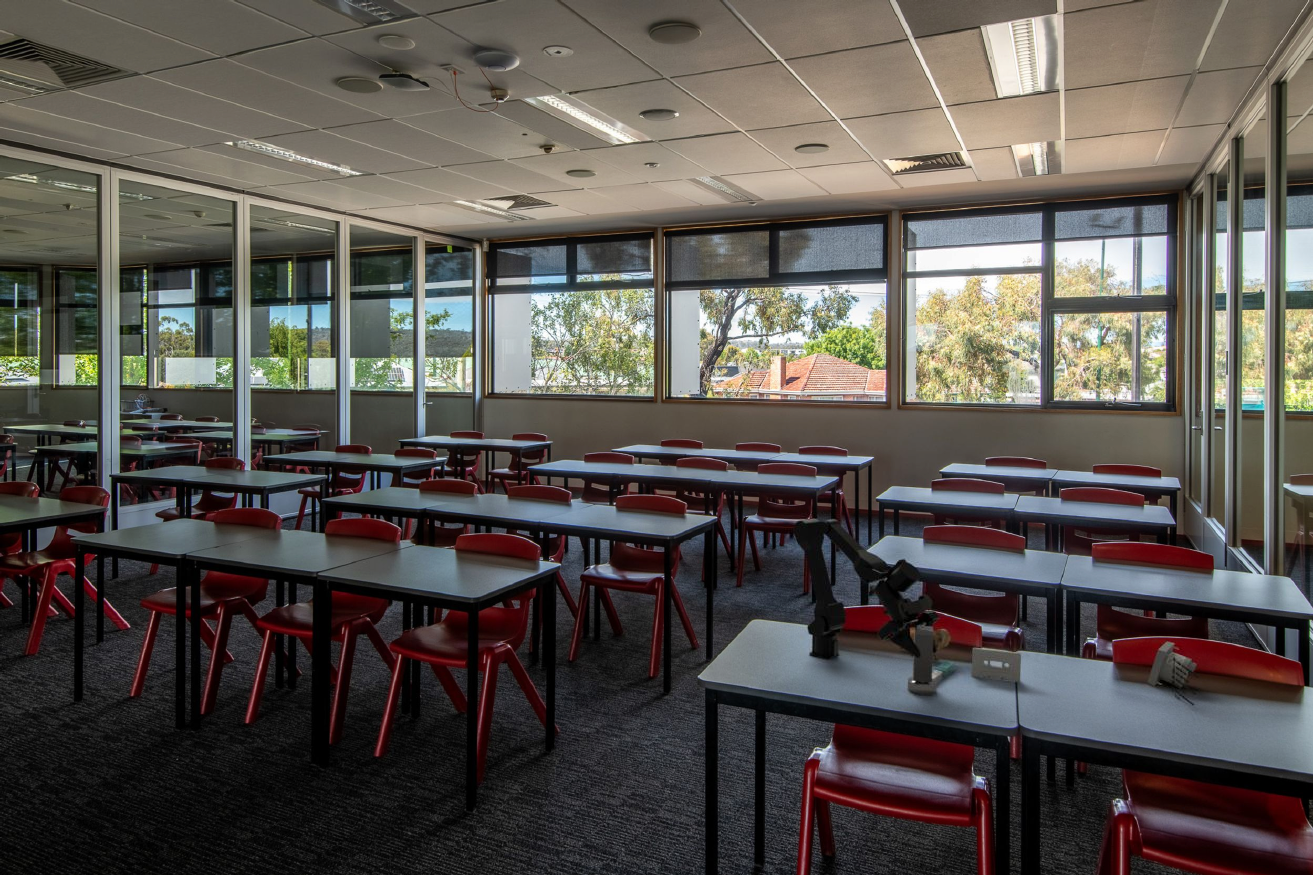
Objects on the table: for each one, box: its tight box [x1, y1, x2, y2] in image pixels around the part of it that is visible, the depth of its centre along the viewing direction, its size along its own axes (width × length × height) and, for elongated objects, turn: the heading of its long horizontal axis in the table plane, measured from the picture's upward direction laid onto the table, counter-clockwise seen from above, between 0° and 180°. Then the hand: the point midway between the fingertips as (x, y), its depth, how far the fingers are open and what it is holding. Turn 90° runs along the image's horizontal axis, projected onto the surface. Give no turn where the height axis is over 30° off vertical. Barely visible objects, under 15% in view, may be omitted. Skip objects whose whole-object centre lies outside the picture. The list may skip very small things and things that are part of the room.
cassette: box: [970, 647, 1022, 683], centre depth 220 cm, size 12×2×8 cm, turn 69°
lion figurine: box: [899, 628, 951, 662], centre depth 237 cm, size 15×5×9 cm, turn 48°
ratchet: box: [907, 660, 955, 697], centre depth 218 cm, size 7×24×5 cm, turn 142°
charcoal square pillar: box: [912, 625, 935, 682], centre depth 210 cm, size 4×4×13 cm
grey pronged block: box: [1147, 641, 1200, 707], centre depth 210 cm, size 27×11×10 cm, turn 172°
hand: (927, 654), depth 209 cm, fingers closed on charcoal square pillar, 6 cm apart
